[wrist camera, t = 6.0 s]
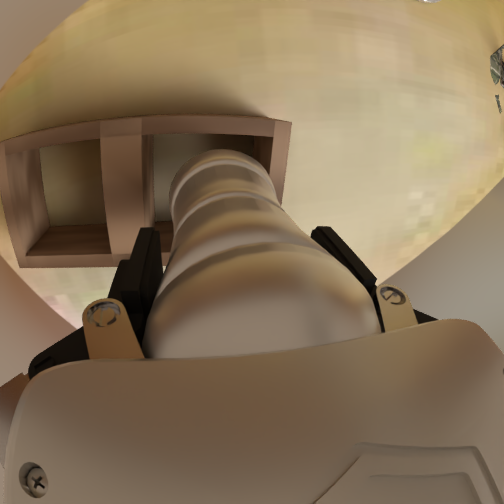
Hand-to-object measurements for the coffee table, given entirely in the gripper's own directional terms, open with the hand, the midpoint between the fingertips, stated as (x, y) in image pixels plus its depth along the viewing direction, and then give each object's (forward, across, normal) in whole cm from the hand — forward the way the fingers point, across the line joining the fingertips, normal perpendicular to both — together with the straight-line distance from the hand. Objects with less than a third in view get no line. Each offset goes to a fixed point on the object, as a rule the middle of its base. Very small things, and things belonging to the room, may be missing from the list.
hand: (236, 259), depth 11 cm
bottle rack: (+15, +7, +1) cm, 17 cm away
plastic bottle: (+10, 0, 0) cm, 10 cm away
